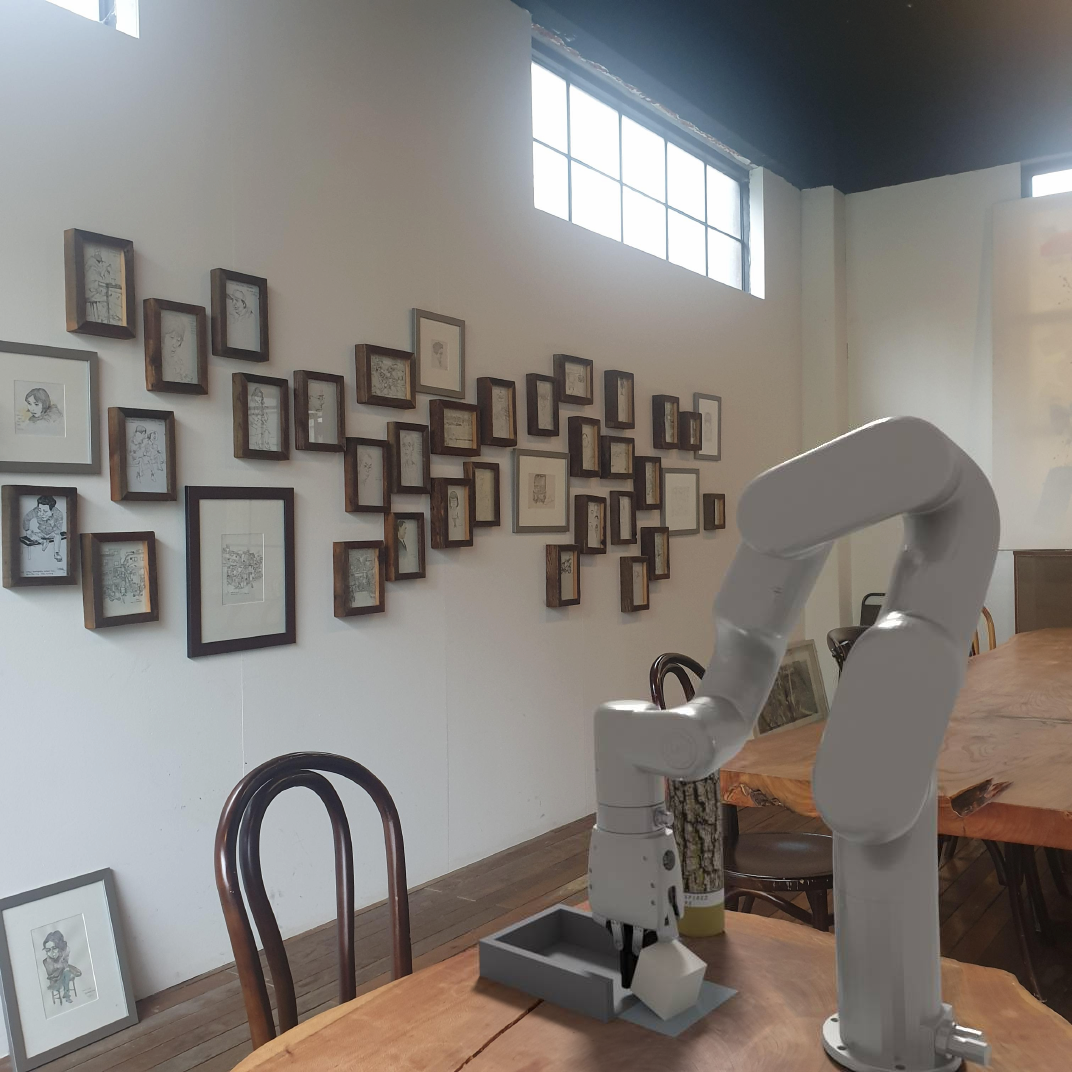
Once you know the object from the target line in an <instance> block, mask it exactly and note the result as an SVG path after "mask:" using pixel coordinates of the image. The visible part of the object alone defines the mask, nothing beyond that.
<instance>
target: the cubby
mask: <svg viewBox="0 0 1072 1072" xmlns="http://www.w3.org/2000/svg"><path fill="white" fill-rule="evenodd" d="M592 913H593V912H591V911H588V910H587V911H586V910H584V909H580V908H575V907H573V906H570V905H566V904H562V903H557V904H554V905H553V906H551V907H548V908H547V909H544V910H541V911H540V912H537V913H535V914H533V915H531V916H528V917H526V918H524V919H523V920H520V921H518V922H516V923H514V924H510V925H508V926H507V927H504V928H503V929H501V930H498V931H496V932H494V933H492V934H490V935H488V936H485V937H483V938H480V939H478V963H479V964H478V966H479V968H478V969H479V977H481V978H484V979H487V980H489V981H493V982H494V983H497V984H500V985H503V986H506V987H508V988H511V989H513V990H516V991H520V992H521V993H525V994H527V995H530V996H531V997H535V998H538V999H541V1000H544V1001H546V1002H549V1003H551V1004H554V1005H556V1006H559V1007H562V1008H564V1009H567V1010H570V1011H573V1012H575V1013H578V1014H580V1015H583V1016H586V1017H589V1018H591V1019H593V1020H597V1021H599V1022H602V1023H604V1024H608V1023H610V1022H612V1021H613V1020H615V1019H616V1018H618V1019H621V1020H623V1021H626V1022H629V1023H632V1024H635V1025H638V1026H641V1027H643V1028H645V1029H649V1030H652V1031H653V1032H657V1033H659V1034H662V1035H664V1036H665V1035H666V1036H668V1037H670V1038H674V1039H675V1038H677V1037H678V1036H679V1035H681V1034H682V1033H683V1032H685V1031H687V1030H688V1029H689V1028H690V1027H692V1026H693V1025H695V1024H696V1023H697V1022H699V1021H700V1020H702V1019H703V1018H704V1017H705V1016H707V1015H709V1014H710V1013H711V1012H713V1011H714V1010H715V1009H717V1008H718V1007H720V1005H722V1004H723V1003H725V1002H726V1001H727V1000H729V999H731V998H732V997H733V996H735V995H736V994H738V993H739V992H740V991H739V990H738V989H737V990H736V989H734V988H731V987H728V986H724V985H721V984H718V983H714V982H711V981H708V980H705V979H703V980H702V984H701V987H700V990H699V994H698V997H697V1000H696V1004H695V1005H694V1006H692V1007H690V1008H688V1009H686V1010H684V1011H683V1012H681V1013H679V1014H677V1015H675V1016H674V1017H672V1018H670V1019H668V1020H666V1021H664V1020H663V1019H662V1018H661V1017H660V1016H659V1015H657V1014H656V1013H655V1012H654V1011H653V1010H652V1009H651V1008H650V1007H648V1006H647V1005H646V1004H645V1003H644V1002H643V1001H642V1000H641V999H640V998H638V997H637V996H636V995H635V994H634V993H633V992H632V991H631V990H630V989H629V988H628V989H625V988H622V984H621V972H620V950H618V949H617V948H616V947H615V945H614V938H613V937H612V935H611V934H610V932H609V931H608V929H607V927H604V926H603V925H601V924H599V923H598V922H596V921H595V920H594V919H593V917H592ZM676 940H677V941H679V942H680V943H681V944H682V945H684V943H683V940H684V939H683V938H682V937H680V936H679V938H678V939H676Z"/></svg>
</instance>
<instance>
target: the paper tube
mask: <svg viewBox="0 0 1072 1072" xmlns="http://www.w3.org/2000/svg"><path fill="white" fill-rule="evenodd" d="M665 779H666V780H665V781H666V811H668V812H671V813H673V815H674V822H673V824H672V825H667V829H671V830H672V831H673V834H674V838H675V841H676V845H677V850H678V855H679V860H680V867H681V875H682V884H683V895H684V916H683V918H682V919H680V920H676V924H677V928H678V932H679V935H680V934H681V935H683V936H687V937H692V938H693V937H694V938H706V937H707V938H708V937H714V936H717V935H719V934H722V933H723V932H724V930H725V927H726V922H725V921H726V918H725V917H726V916H725V914H726V913H725V883H724V882H725V880H724V878H725V877H724V851H723V850H724V849H723V848H724V846H723V826H722V825H723V819H722V815H723V814H722V787H721V785H722V784H721V767H720V768H719V769H717V770H716V771H714V772H713V773H712V774H710V775H709V776H707V777H705V778H703V779H701V780H697V781H679V780H674V779H670V778H667V777H665Z"/></svg>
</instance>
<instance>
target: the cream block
mask: <svg viewBox="0 0 1072 1072" xmlns="http://www.w3.org/2000/svg"><path fill="white" fill-rule="evenodd" d="M707 967H708V964H707V963H706V962H704V960H702V959H701V958H700V957H699V956H698V955H696V954H695V953H694V952H693V951H691V950H690V949H689V948H687V947H686V946H685V945H684V944H683V945H682V944H681V943H680V942H679V941H677V940H674V941H672V942H670V943H659V942H657V943H655V944H652V945H650V946H648V947H646V948H644V949H642V950H641V952H640V955H639V959H638V962H637V966H636V970H635V973H634V977H633V980H632V984H631V987H630V990H631V991H632V992H633V993H634V994H635V995H636V996H637V997H638V998H640V999H641V1000H642V1001H643V1002H644V1003H645V1004H646V1005H647V1006H648V1007H650V1008H651V1009H652V1010H653V1011H654V1012H655V1013H656V1014H657V1015H659V1016H660V1017H661V1018H662V1019H663V1020H664V1021H666V1020H668V1019H670V1018H672V1017H674V1016H675V1015H677V1014H679V1013H681V1012H683V1011H684V1010H686V1009H688V1008H690V1007H692V1006H694V1005H695V1004H696V1000H697V997H698V994H699V990H700V987H701V984H702V980H704V977H705V973H706V971H707V970H706V969H707Z"/></svg>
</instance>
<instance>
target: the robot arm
mask: <svg viewBox="0 0 1072 1072" xmlns="http://www.w3.org/2000/svg"><path fill="white" fill-rule="evenodd" d="M999 509H1000V508H999V503H998V500H997V497H996V493H995V491H994V489H993V487H992V485H991V483H990V481H989V478H988V477H987V476H986V474H985V472H984V471H983V470H982V468H981V467H980V466H979V465H978V464H977V463H976V461H975V460H974V459H973V458H972V457H971V456H970V455H969V454H968V453H967V452H966V451H964V450H963V448H961V447H960V445H958V444H957V443H956V442H955V441H953V440H952V439H951V438H950V437H949V436H948V435H947V434H946V433H945V432H944V431H942V430H941V429H939V428H938V427H937V426H936V425H935V424H933V423H932V422H929V421H927V420H925V419H923V418H920V417H916V416H912V415H895V416H889V417H884V418H881V419H878V420H875V421H872V422H869V423H867V424H865V425H863V426H862V427H859V428H857V429H855V430H852V431H851V432H848V433H846V434H844V435H842V436H839V437H837V438H836V439H833V440H831V441H829V442H827V443H824V444H822V445H820V446H818V447H816V448H814V449H812V450H809V451H807V452H804V453H802V454H800V455H798V456H796V457H793V458H791V459H789V460H787V461H784V462H783V463H780V464H777V465H776V466H774V467H771V468H769V469H766V471H763V472H761V473H760V474H758V475H757V476H756V477H754V478H753V479H752V480H751V481H750V482H748V484H747V485H746V486H745V488H744V489H743V491H742V492H741V494H740V497H739V499H738V502H737V507H736V511H735V516H736V517H735V519H736V520H735V521H736V525H737V531H738V532H739V534H740V537H741V539H740V541H739V544H738V546H737V548H736V550H735V553H734V555H733V556H732V558H731V560H730V563H729V565H728V568H727V570H726V572H725V574H724V576H723V578H722V581H721V583H720V585H719V587H718V589H717V591H716V593H715V596H714V598H713V600H712V605H711V614H712V615H711V616H712V619H713V623H714V627H715V643H714V645H713V651H712V653H711V656H710V659H709V663H708V665H707V667H706V669H705V672H704V673H703V676H702V678H701V680H700V683H699V685H698V687H697V689H696V691H695V693H694V695H693V697H692V698H691V700H690V701H688V702H685V703H683V704H682V705H678V706H676V707H672V708H669V709H660V708H659V707H658V705H657V704H656V703H653V702H650V701H646V700H639V699H620V700H619V699H618V700H612V701H607V702H604V703H601V704H599V705H598V706H597V708H596V709H595V712H594V715H593V743H594V744H593V745H594V747H593V748H594V753H593V754H594V776H595V777H594V779H595V780H594V781H595V782H594V784H595V808H596V810H595V811H596V815H595V816H596V817H595V818H596V823H595V824H594V825H593V826H592V829H593V831H591V834H590V835H591V837H590V843H589V849H588V850H589V853H588V867H587V868H588V869H587V894H588V895H587V897H588V903H589V904H588V905H589V908H590V910H591V911H592V912H591V913H592V917H593V919H594V920H595V921H596V922H598V923H599V924H601V925H603V926H604V927H607V929H608V931H609V932H610V934H611V935H612V937H613V938H614V945H615V947H616V948H617V949H618V950H620V972H621V984H622V988H625V989H628V988H629V989H630V987H631V984H632V980H633V977H634V973H635V970H636V966H637V962H638V959H639V955H640V952H641V950H642V949H644V948H646V947H648V946H650V945H652V944H655V943H657V942H659V943H670V942H672V941H674V940H676V939H678V938H679V937H680V933H679V932H678V928H677V924H676V920H680V919H682V918H683V916H684V895H683V884H682V875H681V867H680V860H679V855H678V850H677V845H676V841H675V838H674V834H673V831H672V830H671V829H668V827H667V826H668V825H672V824H673V822H674V815H673V813H671V812H668V811H667V801H666V795H665V794H666V789H665V788H666V786H665V778H666V777H667V778H670V779H674V780H679V781H697V780H701V779H703V778H705V777H707V776H709V775H710V774H712V773H713V772H714V771H716V770H717V769H719V768H720V769H721V767H722V766H724V765H725V764H726V763H728V762H729V761H731V760H732V759H734V758H735V757H736V756H737V755H738V754H739V753H740V752H741V751H742V749H743V747H744V746H745V744H747V741H748V739H749V737H750V736H751V733H752V731H753V729H754V727H755V726H756V724H757V722H758V719H759V717H760V714H761V713H762V712H763V711H762V710H763V709H764V707H765V704H766V703H767V700H768V698H769V696H770V693H771V691H772V689H773V687H774V683H775V681H776V679H777V676H778V672H779V670H780V667H781V665H782V662H783V659H784V657H785V655H786V652H787V648H788V645H789V641H790V639H791V637H792V634H793V632H794V630H795V627H796V625H797V623H798V621H799V619H800V616H801V614H802V612H803V610H804V608H805V605H806V603H807V602H808V600H809V597H810V595H811V593H812V591H813V589H814V587H815V585H816V583H817V581H818V578H819V577H820V574H821V573H822V570H823V568H824V567H825V564H826V562H827V560H828V558H829V556H830V554H831V553H832V550H833V547H834V545H835V543H836V540H839V539H841V538H844V537H847V536H850V535H852V534H855V533H857V532H859V531H862V530H864V529H867V528H869V527H872V526H874V525H877V524H879V523H881V522H884V521H886V520H889V519H892V518H894V517H897V516H899V515H901V517H902V521H903V534H902V540H901V543H900V546H899V548H898V552H897V554H896V556H895V560H894V562H893V566H892V570H891V574H890V580H889V582H888V586H887V589H886V591H885V595H884V597H883V602H882V604H881V608H880V609H879V613H878V615H877V617H876V620H875V623H874V624H872V626H869V628H867V629H866V630H865V631H864V632H862V633H861V635H860V636H859V637H858V638H857V639H856V640H855V642H854V643H853V645H852V646H851V648H850V650H849V652H848V654H847V656H846V660H845V662H844V664H843V666H842V670H841V673H840V677H839V679H838V683H837V686H836V688H835V689H836V690H835V693H834V696H833V700H832V702H831V706H830V709H829V713H828V715H827V717H826V718H827V720H826V722H825V726H824V729H823V732H822V736H821V738H820V741H819V746H818V748H817V752H816V755H815V759H814V762H813V766H812V769H811V776H810V790H811V796H812V800H813V804H814V805H815V809H816V811H817V813H818V814H819V816H820V818H821V819H822V821H823V822H824V824H826V826H827V827H828V828H829V829H830V830H831V831H832V870H833V873H832V874H833V875H832V876H833V880H832V881H833V882H832V884H833V885H832V886H833V914H834V917H833V919H834V941H835V942H834V946H835V947H834V948H835V969H836V971H835V977H836V1004H837V1005H836V1006H837V1012H836V1013H834V1014H832V1015H830V1016H828V1018H827V1019H826V1020H825V1021H823V1022H824V1023H823V1024H822V1026H821V1041H822V1046H823V1047H824V1050H825V1051H826V1053H828V1054H829V1055H830V1056H831V1058H833V1060H834V1061H836V1062H838V1063H839V1064H841V1065H842V1066H843V1067H846V1068H847V1069H850V1070H851V1071H853V1072H956V1071H957V1070H959V1068H960V1066H961V1065H962V1060H963V1059H964V1060H965V1061H966V1062H970V1063H972V1064H975V1065H979V1066H982V1067H986V1068H987V1067H988V1066H989V1064H990V1059H991V1045H990V1044H989V1043H988V1042H985V1034H984V1032H983V1031H982V1030H977V1029H974V1028H970V1027H964V1026H961V1025H959V1023H958V1022H957V1021H956V1020H955V1021H954V1018H953V1015H954V1014H953V1012H954V1011H953V1005H951V1004H948V1003H945V1002H944V1003H943V1000H942V999H943V997H942V995H943V994H942V993H943V992H942V971H941V970H942V969H941V968H942V967H941V944H940V943H941V941H940V940H941V939H940V917H939V916H940V913H939V867H938V865H939V863H938V862H939V861H938V860H939V859H938V806H939V805H938V804H939V803H938V802H939V801H938V799H939V797H938V796H939V791H938V790H939V788H938V787H939V786H938V783H939V782H938V781H939V780H938V770H937V762H938V759H939V755H940V752H941V750H942V746H943V744H944V740H945V736H946V735H947V731H948V727H949V725H950V721H951V719H952V715H953V712H954V710H955V706H956V704H957V701H958V697H959V696H960V693H961V692H962V690H963V688H964V685H965V683H966V678H967V671H968V663H969V662H968V661H969V657H970V653H971V649H972V645H973V642H974V639H975V635H976V633H977V629H978V625H979V622H980V619H981V616H982V613H983V610H984V609H983V608H984V605H985V602H986V599H987V594H988V591H989V587H990V583H991V580H992V577H993V573H994V569H995V566H996V563H997V557H998V553H999V548H1000V542H1001V541H1000V540H1001V514H1000V510H999Z"/></svg>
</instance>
